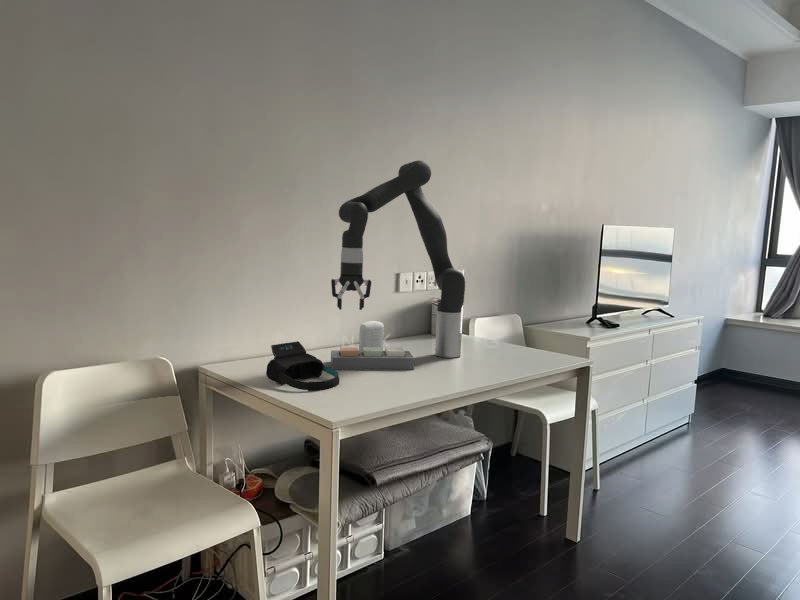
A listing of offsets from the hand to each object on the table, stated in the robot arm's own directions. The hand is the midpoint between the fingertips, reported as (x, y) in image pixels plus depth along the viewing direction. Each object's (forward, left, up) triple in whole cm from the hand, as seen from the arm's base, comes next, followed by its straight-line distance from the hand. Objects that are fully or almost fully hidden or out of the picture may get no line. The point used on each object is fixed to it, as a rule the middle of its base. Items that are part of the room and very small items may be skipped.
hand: (350, 309), depth 217 cm
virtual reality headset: (+15, +23, -20) cm, 34 cm away
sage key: (-8, 0, -17) cm, 19 cm away
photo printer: (-10, -21, -20) cm, 31 cm away
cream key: (-16, 0, -17) cm, 23 cm away
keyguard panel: (-8, 0, -20) cm, 21 cm away
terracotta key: (0, 0, -17) cm, 17 cm away
